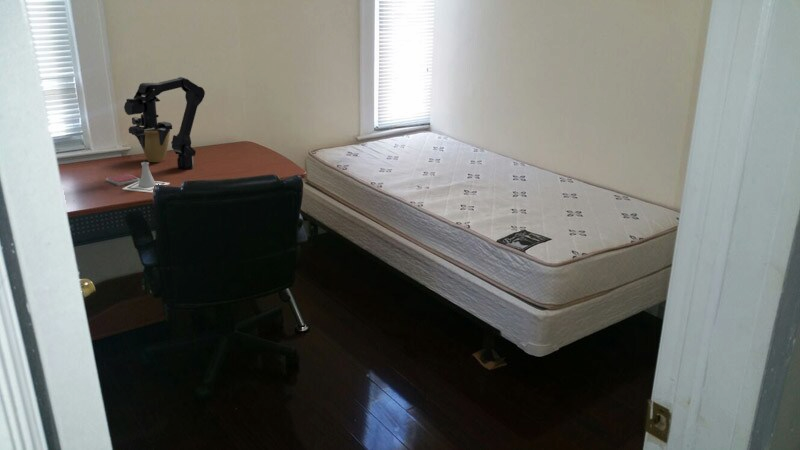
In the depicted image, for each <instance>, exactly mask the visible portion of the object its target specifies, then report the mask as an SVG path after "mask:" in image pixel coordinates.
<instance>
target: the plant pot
mask: <svg viewBox="0 0 800 450" xmlns="http://www.w3.org/2000/svg"><path fill="white" fill-rule="evenodd" d="M153 128H154V127H153ZM147 129H148V128H147ZM170 132H171V130H170V131H169V132H168V134H167V136H166V138H165V140H164V143H163V145H162V146H161V145H160V140H159V132H158V130H157V129H155V130H149V131H144V133H143V134H145V149H143V148H142V150H143V153H144V155H145V157H146V160H147V162H148V163H162V162H164V161H165V158H166V156H167V152H168V147H169V141H170V135H171V133H170Z"/></svg>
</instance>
